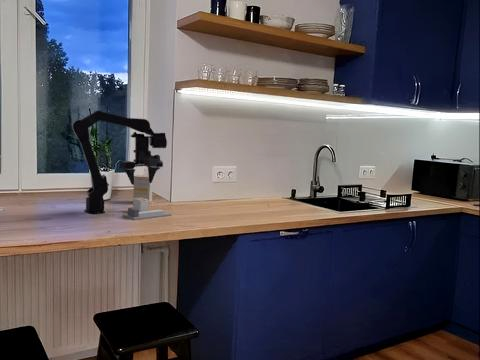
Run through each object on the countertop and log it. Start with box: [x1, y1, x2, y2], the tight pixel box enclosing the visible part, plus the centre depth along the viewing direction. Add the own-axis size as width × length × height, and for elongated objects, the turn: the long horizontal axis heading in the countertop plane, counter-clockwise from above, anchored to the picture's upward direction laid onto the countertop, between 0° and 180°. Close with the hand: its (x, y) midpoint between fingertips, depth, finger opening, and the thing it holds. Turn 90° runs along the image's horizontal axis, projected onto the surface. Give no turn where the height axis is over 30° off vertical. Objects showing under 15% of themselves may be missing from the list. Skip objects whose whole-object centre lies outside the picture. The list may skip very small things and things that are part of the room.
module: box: [132, 197, 150, 212], centre depth 192 cm, size 4×6×6 cm, turn 46°
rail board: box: [122, 206, 172, 221], centre depth 185 cm, size 18×9×4 cm, turn 135°
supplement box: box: [132, 174, 153, 204], centre depth 212 cm, size 8×5×13 cm, turn 84°
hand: (141, 183), depth 191 cm, fingers open, 9 cm apart
